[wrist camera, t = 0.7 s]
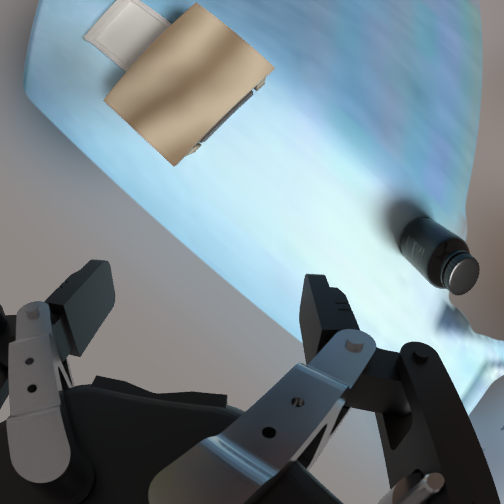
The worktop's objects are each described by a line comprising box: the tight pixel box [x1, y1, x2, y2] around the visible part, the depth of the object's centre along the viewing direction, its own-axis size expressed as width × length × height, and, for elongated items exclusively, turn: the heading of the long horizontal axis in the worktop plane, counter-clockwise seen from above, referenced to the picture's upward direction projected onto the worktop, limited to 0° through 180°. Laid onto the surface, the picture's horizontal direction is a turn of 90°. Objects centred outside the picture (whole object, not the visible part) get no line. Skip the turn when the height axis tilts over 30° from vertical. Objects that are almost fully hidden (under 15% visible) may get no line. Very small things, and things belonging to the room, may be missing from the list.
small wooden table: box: [103, 3, 275, 166], centre depth 29 cm, size 11×14×7 cm
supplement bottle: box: [400, 217, 480, 295], centre depth 34 cm, size 7×7×12 cm
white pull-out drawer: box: [83, 0, 172, 72], centre depth 29 cm, size 15×8×2 cm, turn 45°
